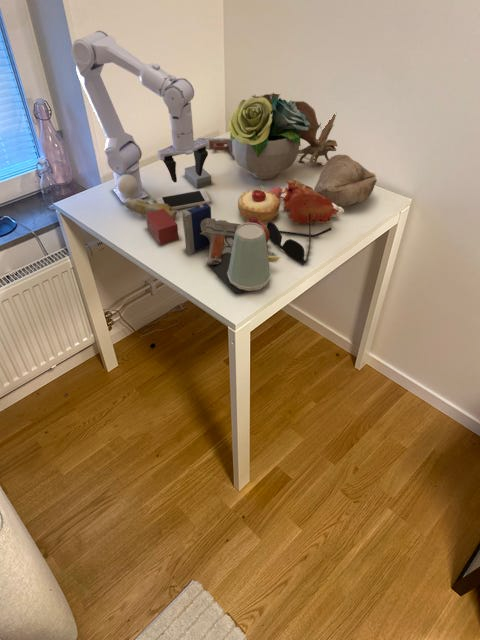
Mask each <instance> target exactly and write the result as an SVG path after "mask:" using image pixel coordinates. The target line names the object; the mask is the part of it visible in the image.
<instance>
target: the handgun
mask: <svg viewBox="0 0 480 640" xmlns="http://www.w3.org/2000/svg"><path fill="white" fill-rule="evenodd" d="M205 139H206V140H207V141H209V149H213V151H228V152H229V154H230V156H231V157H233V158H234V159H235V157H234V155H233V150H232V141H231V138H230V137H228V138H223V137H222V138H221V137H220V138H217V137H215V138H214V137H213V138H211V137H210V138H209V137H206V138H205V137H204V138H203V137H198V138H197V139H196V140H195V141H198V140H205ZM232 140H233V138H232Z"/></svg>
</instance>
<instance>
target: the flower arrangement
mask: <svg viewBox="0 0 480 640" xmlns="http://www.w3.org/2000/svg"><path fill="white" fill-rule="evenodd" d="M281 95H282V93H280V94H279V93H275V92H274V91H273V92H270V93H266V94H260V95H256V94H253V95H251V96H250V98H248V99H242V100H240V101H239V104H238V105H237V108H236V109H235V111H234V112H233V113H232V115H231V117H230V119H229V122H228V130H229V132H230V133H229V134H230V137H229V138H231V141H232V150H233V155H234V157H235V158H234V157H233V158H234V160H235V162H236V163H237V164H238V165H239V166H240V167H241V168H242V169H243V170H245V171H246V172H249V173H251V175H252V176H253V177H254V178H256V179H260V180H270V179H273V178H276V177H277V176H278V174H280V173H282V172H285V171H286V170H287V169H289V168H290V167H292V165H293V164H294V163H295V162H296V160H297V157H298V155H299V154H298V153H299V150H300V147H301V138H300V133H299V132H298V130H299V129H300V130H308V126H305V125H309V126H310V123H309V122H308V121H307V120H306V119H305V115H304V114H302V113H301V112H300V111H299V110H298V109H296V104H295V102H294V101H295V100H292V99H290V100H289V101H287V100H286V99H282V98H281V97H280V96H281ZM303 126H305V127H303ZM232 138H233V140H232Z"/></svg>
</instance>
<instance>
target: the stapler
mask: <svg viewBox="0 0 480 640" xmlns="http://www.w3.org/2000/svg"><path fill="white" fill-rule="evenodd" d="M332 204H333V205H334V208H335V209H336V210H338V212H337V213H336V214H332V216H331V218H333V219H334V218H337V217H339V216H340V214H343V213H344V212H345V209H344V208H343V207H342V206H337V205H335V204H334V203H332Z"/></svg>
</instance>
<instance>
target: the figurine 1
mask: <svg viewBox="0 0 480 640" xmlns="http://www.w3.org/2000/svg"><path fill="white" fill-rule="evenodd" d="M124 206H125V207H126V208H127V209H128V210H130V211H132V212H134V213H136V214H139V215H141V216H146V214H147V213H150V212H154V211H157V210H161V209H165V210H166V211H167V213H168V214H169V215H170V216H171V217H172V218H173V220H175V218H176V217H177V214H178V210H177V209H175V210H171V209H172V207H171V206H169V204H162V203H156V202H155V203H150V202H149V201H148V200H144V199H143V198H142V199H131V198H128V199H126V200H125V203H124Z"/></svg>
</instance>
